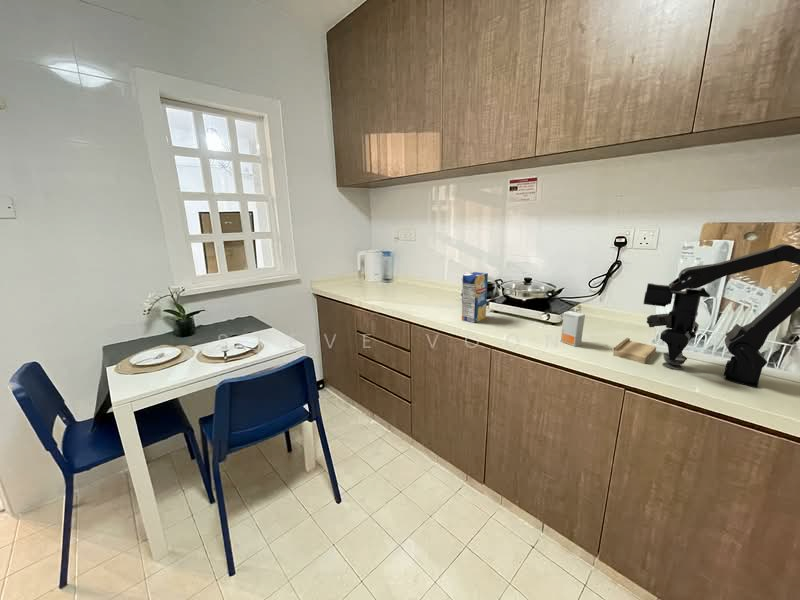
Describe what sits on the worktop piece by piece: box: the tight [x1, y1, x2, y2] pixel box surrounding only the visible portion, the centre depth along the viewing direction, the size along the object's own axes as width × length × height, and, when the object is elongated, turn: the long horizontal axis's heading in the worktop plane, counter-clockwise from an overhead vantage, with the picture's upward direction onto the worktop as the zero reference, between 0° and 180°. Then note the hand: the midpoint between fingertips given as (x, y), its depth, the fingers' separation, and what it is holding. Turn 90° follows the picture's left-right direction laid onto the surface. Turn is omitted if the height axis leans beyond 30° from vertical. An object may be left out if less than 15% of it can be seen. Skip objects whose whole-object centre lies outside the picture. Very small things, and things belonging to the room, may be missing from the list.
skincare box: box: [559, 310, 586, 347], centre depth 120 cm, size 6×4×12 cm
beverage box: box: [461, 271, 489, 324], centre depth 150 cm, size 7×11×22 cm, turn 137°
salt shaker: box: [661, 351, 688, 371], centre depth 99 cm, size 6×6×12 cm
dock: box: [612, 337, 657, 364], centre depth 111 cm, size 9×14×3 cm, turn 130°
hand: (674, 356), depth 100 cm, fingers closed on salt shaker, 8 cm apart
